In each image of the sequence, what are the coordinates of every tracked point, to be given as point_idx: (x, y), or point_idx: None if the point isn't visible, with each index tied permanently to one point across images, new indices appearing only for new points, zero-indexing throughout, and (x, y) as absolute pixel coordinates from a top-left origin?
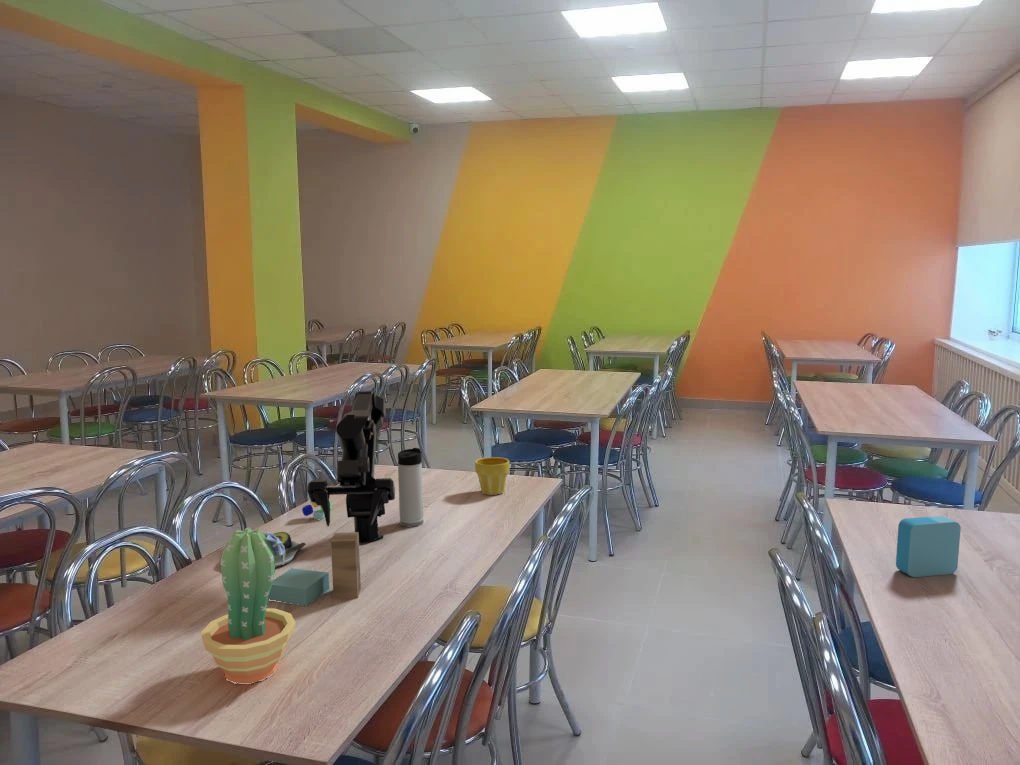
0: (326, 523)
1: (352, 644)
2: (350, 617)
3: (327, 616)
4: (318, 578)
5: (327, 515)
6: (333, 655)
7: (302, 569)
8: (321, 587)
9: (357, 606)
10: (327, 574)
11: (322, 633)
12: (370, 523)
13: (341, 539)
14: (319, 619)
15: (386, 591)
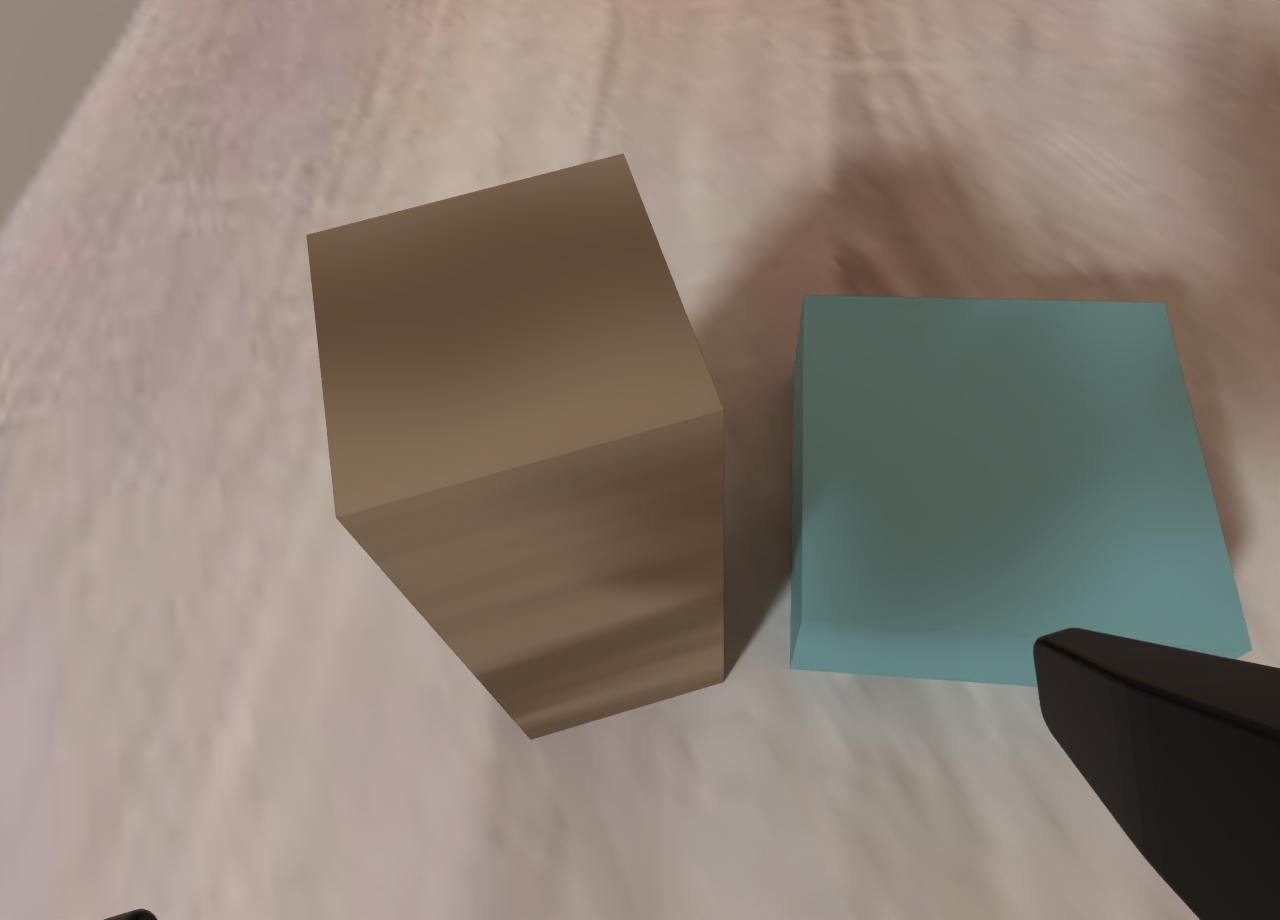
0: (1083, 631)
1: (359, 114)
2: None
3: None
4: (820, 481)
5: (1199, 684)
6: (416, 39)
7: None
8: (795, 531)
9: None
10: (801, 604)
11: (539, 155)
12: (133, 915)
13: (503, 219)
14: None
15: (298, 717)
